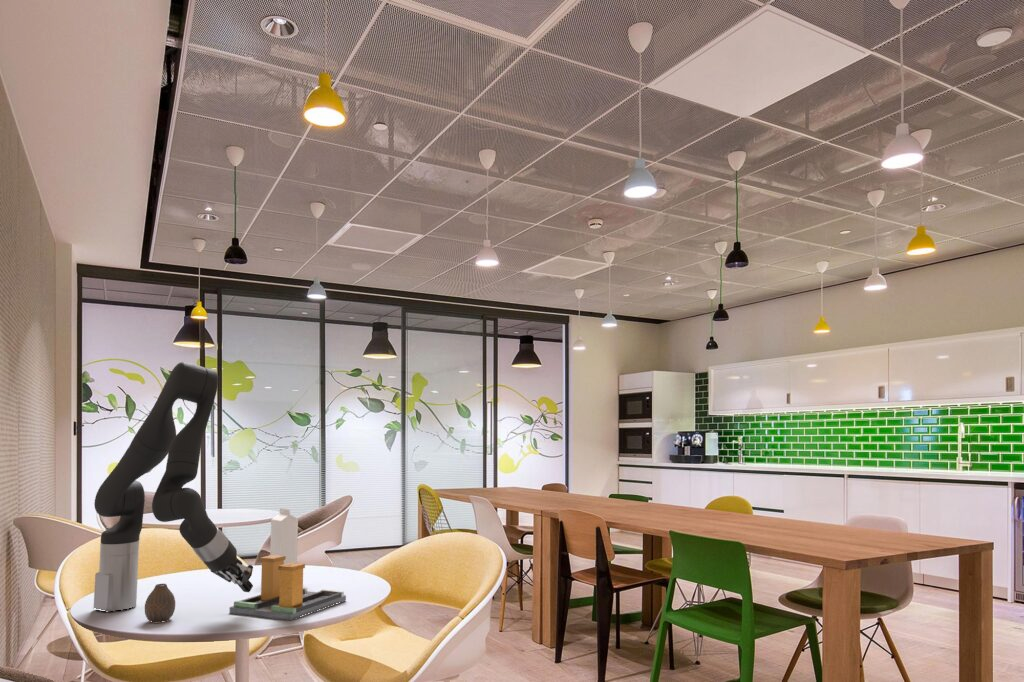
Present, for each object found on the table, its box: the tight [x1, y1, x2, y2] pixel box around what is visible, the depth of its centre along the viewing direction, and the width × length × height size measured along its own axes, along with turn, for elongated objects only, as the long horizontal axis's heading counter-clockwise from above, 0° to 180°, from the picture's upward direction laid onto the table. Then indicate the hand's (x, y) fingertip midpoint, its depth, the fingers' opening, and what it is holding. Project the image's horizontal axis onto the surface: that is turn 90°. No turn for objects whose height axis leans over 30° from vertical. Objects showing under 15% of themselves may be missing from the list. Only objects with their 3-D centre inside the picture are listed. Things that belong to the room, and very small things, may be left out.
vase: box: [144, 583, 176, 623], centre depth 183 cm, size 7×7×9 cm
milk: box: [269, 507, 299, 564], centre depth 230 cm, size 6×6×22 cm
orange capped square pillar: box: [259, 554, 286, 600], centre depth 199 cm, size 5×5×11 cm
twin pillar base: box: [228, 562, 347, 622], centre depth 196 cm, size 22×20×12 cm
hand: (248, 589), depth 191 cm, fingers closed
